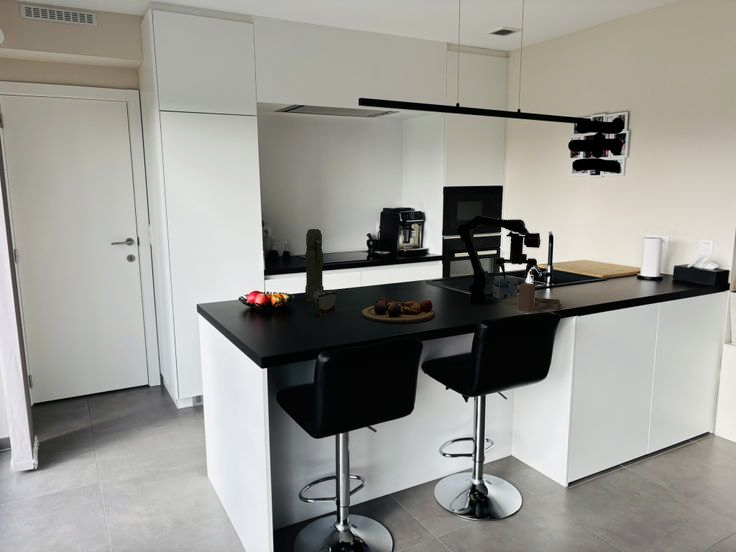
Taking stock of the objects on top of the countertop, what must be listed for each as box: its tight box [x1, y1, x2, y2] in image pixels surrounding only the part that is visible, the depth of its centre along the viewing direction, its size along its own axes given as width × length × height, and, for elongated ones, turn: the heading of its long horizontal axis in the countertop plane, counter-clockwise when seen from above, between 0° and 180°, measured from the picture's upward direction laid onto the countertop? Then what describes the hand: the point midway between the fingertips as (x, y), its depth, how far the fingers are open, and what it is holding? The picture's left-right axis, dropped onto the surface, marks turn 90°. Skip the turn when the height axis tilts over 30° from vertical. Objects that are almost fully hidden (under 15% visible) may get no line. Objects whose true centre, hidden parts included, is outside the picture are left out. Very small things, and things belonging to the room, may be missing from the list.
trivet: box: [513, 307, 539, 314], centre depth 256 cm, size 11×11×1 cm
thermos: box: [304, 228, 325, 304], centre depth 272 cm, size 9×12×35 cm
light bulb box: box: [492, 275, 519, 300], centre depth 286 cm, size 11×7×11 cm, turn 105°
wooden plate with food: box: [361, 296, 435, 325], centre depth 247 cm, size 32×32×8 cm
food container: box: [314, 289, 338, 317], centre depth 249 cm, size 12×6×10 cm, turn 141°
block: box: [517, 282, 536, 312], centre depth 254 cm, size 5×5×12 cm
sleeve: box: [534, 297, 561, 311], centre depth 265 cm, size 11×14×3 cm
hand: (514, 279), depth 264 cm, fingers open, 9 cm apart
